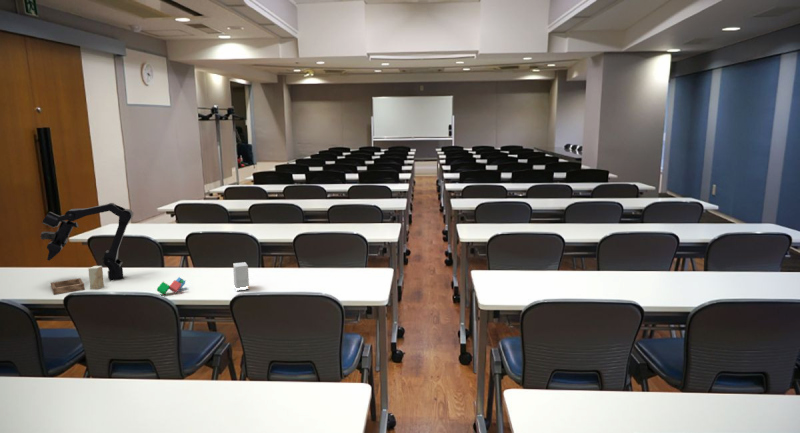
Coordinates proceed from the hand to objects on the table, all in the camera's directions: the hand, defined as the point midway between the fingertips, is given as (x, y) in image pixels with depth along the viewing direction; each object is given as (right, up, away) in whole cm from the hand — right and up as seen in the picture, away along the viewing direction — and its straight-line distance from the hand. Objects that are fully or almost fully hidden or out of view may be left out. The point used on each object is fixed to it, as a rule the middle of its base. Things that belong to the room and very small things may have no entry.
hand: (50, 257), depth 260 cm
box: (+27, -15, -4) cm, 31 cm away
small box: (+103, -16, -5) cm, 104 cm away
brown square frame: (+13, -16, -6) cm, 21 cm away
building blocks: (+69, -17, -10) cm, 72 cm away
